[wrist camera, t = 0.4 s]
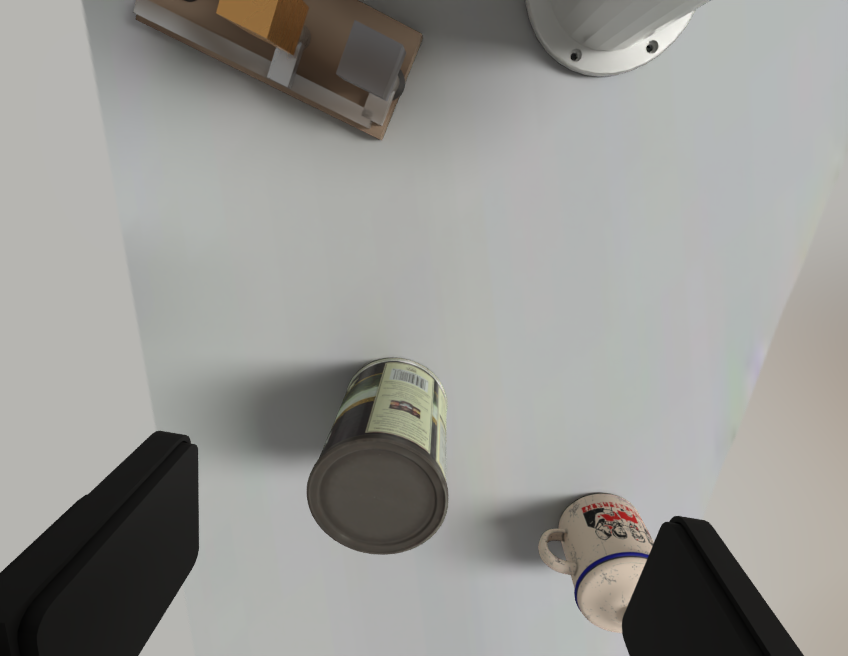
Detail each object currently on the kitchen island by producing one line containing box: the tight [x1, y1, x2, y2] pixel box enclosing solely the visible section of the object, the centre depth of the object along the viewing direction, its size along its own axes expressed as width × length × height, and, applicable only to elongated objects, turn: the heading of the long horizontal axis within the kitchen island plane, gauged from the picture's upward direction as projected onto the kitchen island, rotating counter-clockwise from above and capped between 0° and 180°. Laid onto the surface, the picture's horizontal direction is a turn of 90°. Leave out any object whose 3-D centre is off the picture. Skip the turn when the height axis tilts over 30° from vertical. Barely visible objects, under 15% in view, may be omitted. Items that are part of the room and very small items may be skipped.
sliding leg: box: [216, 0, 311, 89], centre depth 31 cm, size 5×3×10 cm, turn 155°
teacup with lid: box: [538, 494, 654, 633], centre depth 46 cm, size 12×9×12 cm
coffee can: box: [307, 358, 448, 555], centre depth 41 cm, size 10×10×14 cm
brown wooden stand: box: [133, 0, 423, 140], centre depth 32 cm, size 8×20×11 cm, turn 65°
